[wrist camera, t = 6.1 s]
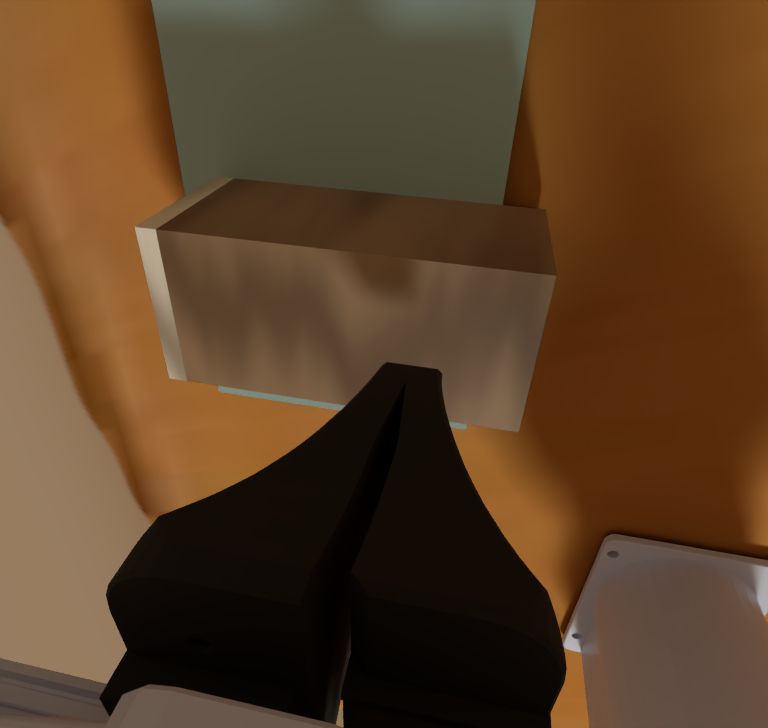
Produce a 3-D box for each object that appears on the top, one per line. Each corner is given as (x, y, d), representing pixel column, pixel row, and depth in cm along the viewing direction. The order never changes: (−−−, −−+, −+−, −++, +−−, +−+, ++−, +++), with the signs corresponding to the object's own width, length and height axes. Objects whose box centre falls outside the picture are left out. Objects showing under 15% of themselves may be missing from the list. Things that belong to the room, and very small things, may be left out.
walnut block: (518, 432, 16) (169, 378, 17) (516, 343, 20) (234, 305, 21) (556, 275, 13) (134, 226, 14) (545, 209, 17) (217, 176, 18)
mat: (466, 422, 23) (466, 430, 23) (223, 385, 24) (219, 391, 24) (543, -52, 14) (544, -53, 13) (149, -64, 15) (139, -66, 15)
